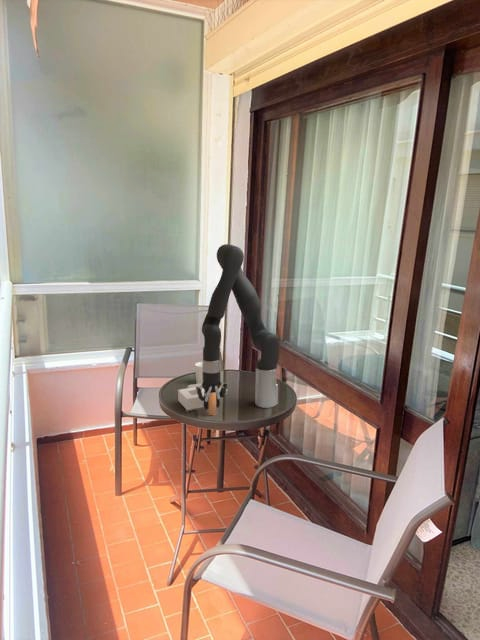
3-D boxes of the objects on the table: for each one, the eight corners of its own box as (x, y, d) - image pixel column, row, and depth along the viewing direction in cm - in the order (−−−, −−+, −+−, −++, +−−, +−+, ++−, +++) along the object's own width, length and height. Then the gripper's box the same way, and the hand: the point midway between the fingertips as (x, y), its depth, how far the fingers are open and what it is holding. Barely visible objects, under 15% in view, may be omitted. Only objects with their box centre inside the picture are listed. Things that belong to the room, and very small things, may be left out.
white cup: (193, 381, 246) (193, 362, 243) (208, 379, 248) (207, 360, 246) (198, 386, 238) (197, 367, 236) (213, 384, 241) (213, 365, 239)
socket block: (203, 398, 224) (203, 385, 222) (212, 407, 213) (212, 394, 212) (178, 402, 219) (178, 389, 217) (187, 412, 208) (186, 399, 207)
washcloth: (229, 394, 229) (229, 388, 229) (192, 399, 224) (191, 392, 223) (221, 386, 240) (221, 380, 240) (186, 390, 235) (186, 384, 234)
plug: (214, 411, 209) (214, 389, 207) (217, 414, 205) (217, 392, 203) (205, 412, 207) (205, 390, 205) (209, 416, 204) (208, 394, 202)
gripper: (223, 364, 208) (223, 402, 212) (192, 369, 202) (192, 407, 206) (230, 370, 202) (230, 408, 205) (198, 374, 196) (199, 414, 200)
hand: (211, 407), depth 206 cm, fingers open, 4 cm apart
